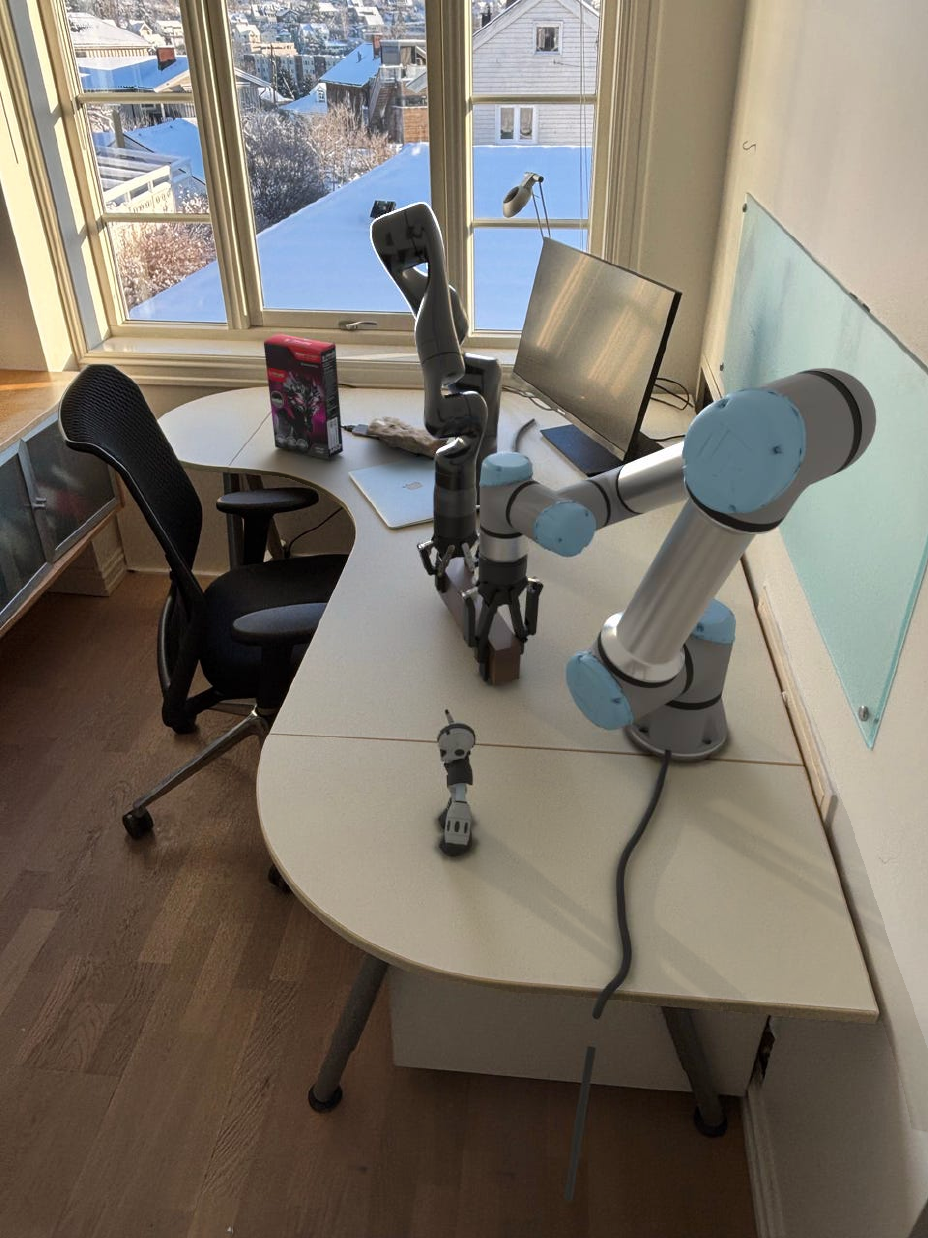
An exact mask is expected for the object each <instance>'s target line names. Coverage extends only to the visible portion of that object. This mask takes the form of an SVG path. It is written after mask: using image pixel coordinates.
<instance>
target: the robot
mask: <svg viewBox="0 0 928 1238" xmlns="http://www.w3.org/2000/svg"><path fill="white" fill-rule="evenodd" d="M444 713H445V717H446V719H447V723H448V724H445V726H444V727H443V728H441V729H440V730H439V731H438V733H437V736H436V743H437V747H438V748H439V760H440V761H441V762H442V763H443V764H442V765H443V767H444V770H445V771H446V777H445V778H446V788H447V789H448V792H449V793H450V797H449V799H448V801H447V804H446V806H445V808H444V810H443V812H441V813H440V814H439V816H438V818H437V821H438V823H439V825H440V827H441V828H442V829H443V830H444V833H443V835H442V837H441V839H440V843H439V845H438V848H439V849H440V850H441V851H442V852H443V853H444V855H449V856H451V857H452V856H453V857H454V856H460V855H462V854H465V853H467V852H469V851H471V848H472V845H473V834H472V830H471V827H472V817H473V816H472V810H471V806H470V804H469V803H468V801H467V797H466V796H467V793H468V787H467V785H469V786H473V785H474V776H473V768H472V765H471V763H470V756H471V755H472V751H471V749H472V748H474V747H475V745H476V741H477V738H476V733H475V730H474V729H473V728H472V727H471V726H470V725H468V724H466V723H464V722H461V721H455V720H454V719H453V716H452V714H451V713H450V711H449V709H448V708H446V709H445V710H444Z"/></svg>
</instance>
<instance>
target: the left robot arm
mask: <svg viewBox="0 0 928 1238" xmlns="http://www.w3.org/2000/svg"><path fill="white" fill-rule="evenodd" d="M440 229H441V228H440V226H439V223H438V220H437V217H436V215H435V214H434V211H433V210H432V208H431V206H430V205H429V204H427V203H426V202H417V203H412V204H409V205H408V206H405V207H404V206H403V207H402V208H399V209H397V210H393V211H391V212H389V213H386V214H383V215H381V216H380V217H378V218H376V219H374V220H373V222H372V223H371V225H370V230H369V231H370V240H371V243H372V246H373V249H374V251H375V253H376V255H377V258H378V259H379V261H380V263H381V264H382V266H383V268H384V270H385V271H386V273H387V274H388V275H389V277H390V278H391V280H392V281H393V282H394V284H395V285H396V287H397V289H398V290H399V292H400V293H401V295H402V296H403V298H404V299H405V301H406V304H407V305H408V307H409V309H410V311H411V313H412V316H413V317H414V319H415V325H414V342H415V343H414V344H415V348H416V351H417V352H416V353H417V355H418V361H419V363H420V369H421V371H422V378H423V410H422V413H423V414H422V417H423V418H422V420H423V426H424V429H425V430H427V432H428V433H429V434H430V435H431V436H432V437H433V438H435V439H448V438H449V439H453V438H454V441H452V442H451V443H449V444H447V445H446V444H445V445H444V446H443V447H442V448H440V449H439V450H438V451H437V452H436V454H435V457H434V464H433V465H434V486H433V492H432V494H433V495H432V501H433V502H432V505H433V507H432V509H433V511H432V513H433V515H432V517H433V520H432V521H433V534H432V536H431V539H430V540H429V541H427V542H424V543H423V542H418V543H416V548H417V552H418V554H419V557H420V561H421V563H422V566H423V568H424V570H425V571H426V574H427V575H428V576H430V577H432V576H434V587H435V589H436V588H437V590H438V591H440V593H445V576H444V572H445V569H446V567H447V566H448V565H449V562H450V559H454V558H456V557H458V558H462V559H463V560H464V562H465V563H466V565H467V566H468V568H469V569H470V571H471V572H472V574H473V575H474V576H475V572H476V571H475V570H476V569H477V568H478V564H479V552H480V550H479V532H477V512H480V508H476V505H480V486H479V483H480V477H481V467H482V462H483V461H484V459H485V458H486V457H488V456H489V455H491V454H495V453H498V438H499V437H498V436H499V435H498V431H499V420H500V413H501V400H502V390H503V389H502V388H503V377H504V376H503V375H504V374H503V367H502V363H501V361H500V360H499V358H496V357H491V356H487V355H480V354H474V353H468V352H466V351H465V350H464V349H463V347H462V345H463V343H464V342H465V340H466V338H467V336H468V332H469V329H470V318H469V315H468V312H467V310H466V307H465V305H464V303H463V301H462V299H461V296H460V295H459V293H458V291H457V290H456V289H455V288H453V287H452V286H451V285H450V282H449V275H448V269H447V262H446V255H445V254H446V253H445V247H444V243H443V237H442V233H441V230H440ZM424 264H426V272H427V273H425V272H422V271H420V270H419V269H418V268H417V267H420V266H421V265H424ZM446 386H447V389H448V391H449V392H450V393H447V394H444V393H443V388H444V387H446ZM535 421H536V419H535V418H533V417H532V418H531V419H529V420H528V421H527V422H526V423H524V424H523V425H522V426H521V427H520V428H519V429H518V431H517V432H516V434H515V437H514V441H513V450H512V452H516V453H518V442H519V438H520V435H521V434H522V432H523V431H524V430H525V429H526V428H527V427H529V426H530V425H532V424H533V423H534V422H535ZM449 439H448V440H449ZM476 543H477V547H476V550H475V554H474V555H472V552H471V550H472V548H473V547H474V546H475V544H476ZM432 549H435V550H436V551H437V552H436V555H435V562H434V564H433V563H432V561H431V557H430V556H431V555H432V551H433V550H432ZM437 590H436V591H437Z"/></svg>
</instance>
